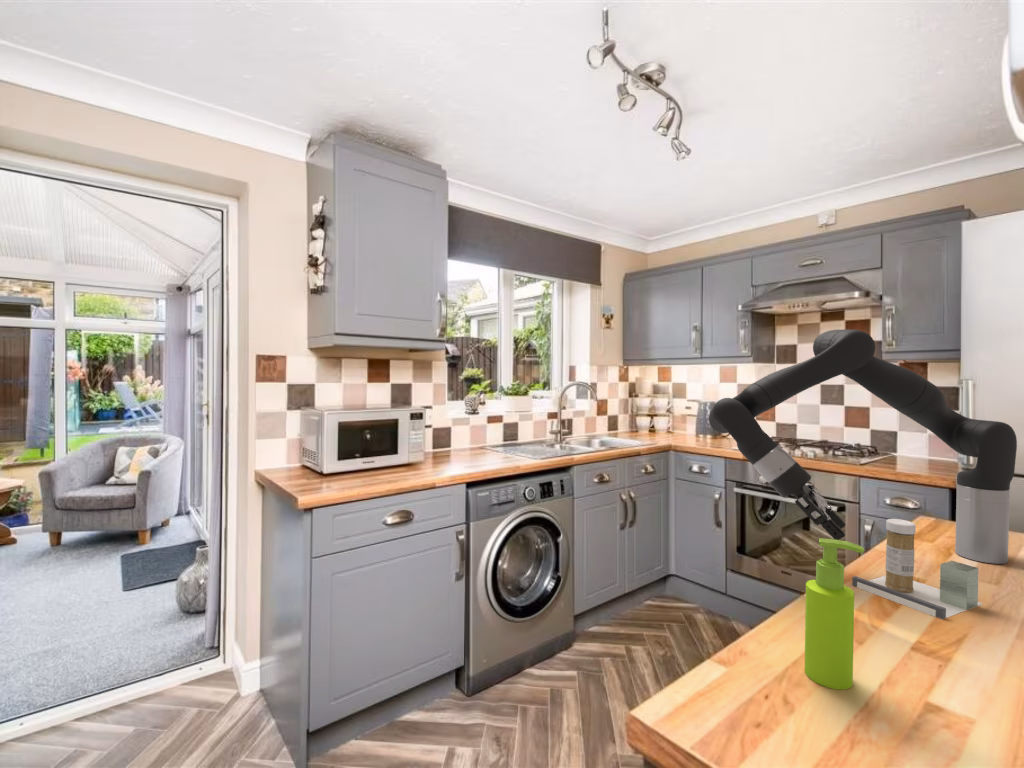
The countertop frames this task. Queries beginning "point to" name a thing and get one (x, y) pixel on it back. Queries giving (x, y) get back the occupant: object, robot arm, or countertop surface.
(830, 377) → the robot arm
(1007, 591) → the countertop surface
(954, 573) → the tea tin
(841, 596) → the soap dispenser
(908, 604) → the tray
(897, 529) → the spice jar
